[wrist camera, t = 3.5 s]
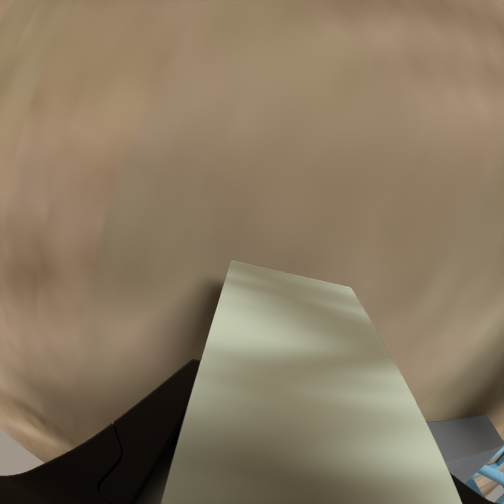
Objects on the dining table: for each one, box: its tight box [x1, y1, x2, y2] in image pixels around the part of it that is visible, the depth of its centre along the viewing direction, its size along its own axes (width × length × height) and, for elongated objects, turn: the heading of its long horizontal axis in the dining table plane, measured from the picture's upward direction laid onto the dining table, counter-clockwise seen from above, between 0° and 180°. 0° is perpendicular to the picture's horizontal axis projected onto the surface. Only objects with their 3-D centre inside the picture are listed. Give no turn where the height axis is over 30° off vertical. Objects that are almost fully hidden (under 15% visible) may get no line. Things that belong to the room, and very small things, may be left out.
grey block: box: [426, 414, 504, 484], centre depth 14 cm, size 14×12×4 cm
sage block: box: [161, 260, 462, 504], centre depth 6 cm, size 4×5×8 cm
